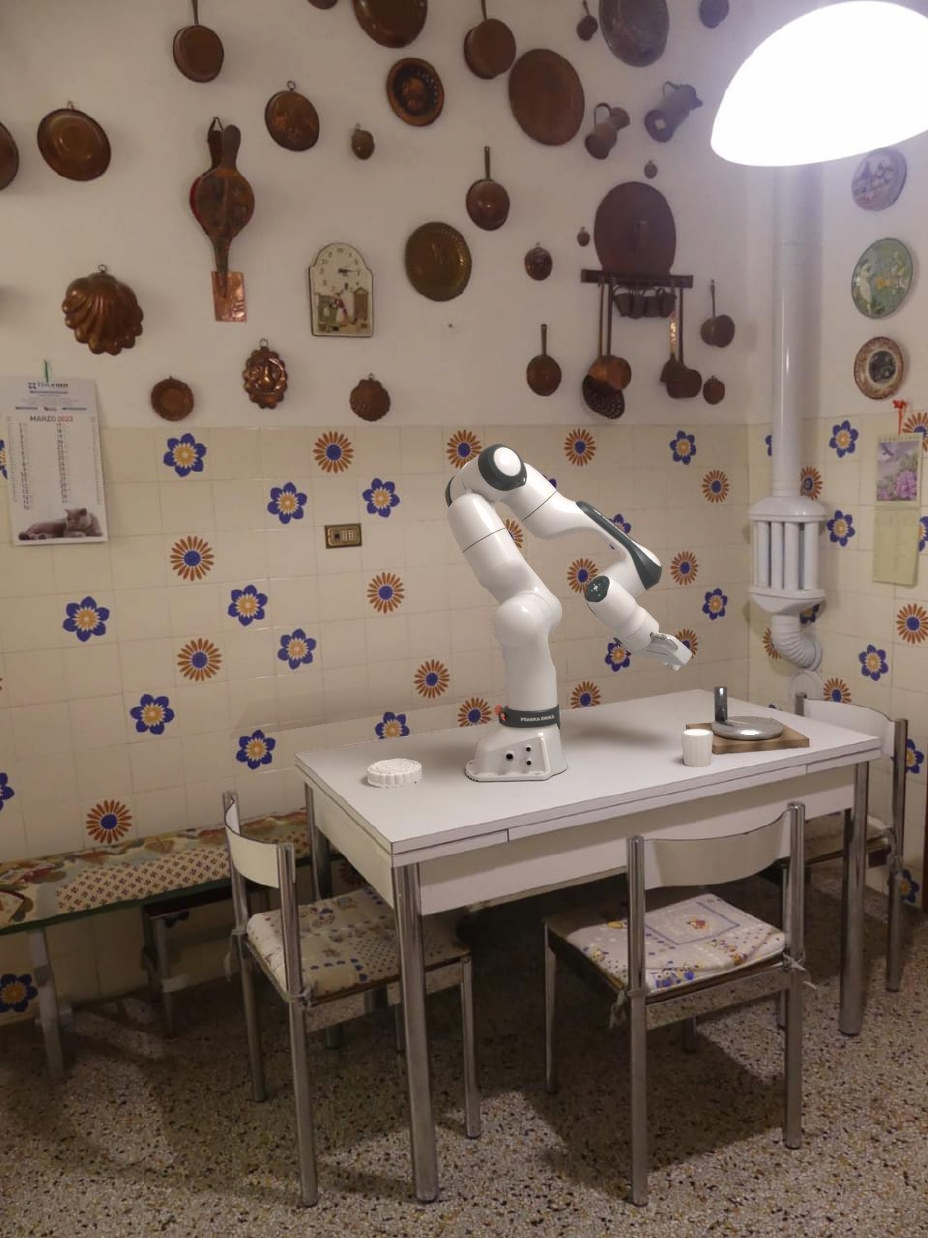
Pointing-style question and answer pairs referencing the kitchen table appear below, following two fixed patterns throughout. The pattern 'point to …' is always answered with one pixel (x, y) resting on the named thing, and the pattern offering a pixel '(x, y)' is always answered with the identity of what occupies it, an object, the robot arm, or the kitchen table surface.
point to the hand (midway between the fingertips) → (675, 667)
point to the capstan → (741, 722)
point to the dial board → (754, 741)
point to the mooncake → (394, 771)
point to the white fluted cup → (697, 747)
